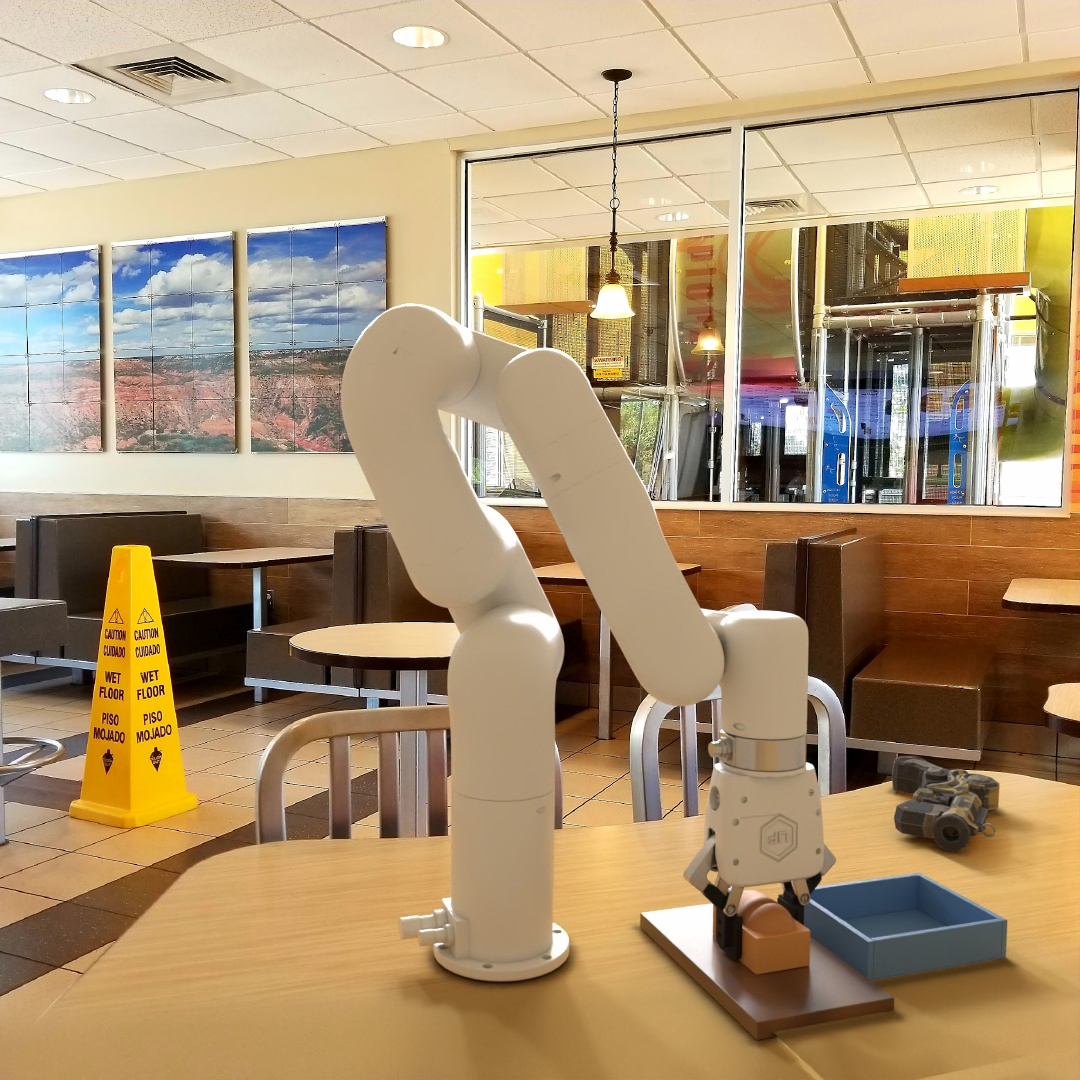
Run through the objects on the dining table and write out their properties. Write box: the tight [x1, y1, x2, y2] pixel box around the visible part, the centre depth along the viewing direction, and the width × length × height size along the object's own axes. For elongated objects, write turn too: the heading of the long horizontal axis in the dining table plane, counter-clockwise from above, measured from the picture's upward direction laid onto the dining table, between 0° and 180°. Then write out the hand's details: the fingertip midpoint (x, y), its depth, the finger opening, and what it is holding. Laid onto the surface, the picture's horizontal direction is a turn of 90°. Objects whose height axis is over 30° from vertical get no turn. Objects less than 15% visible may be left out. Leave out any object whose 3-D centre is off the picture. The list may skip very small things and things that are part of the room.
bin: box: [804, 872, 1008, 982], centre depth 102 cm, size 15×12×4 cm
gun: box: [891, 755, 1000, 852], centre depth 140 cm, size 5×26×15 cm
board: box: [639, 902, 895, 1041], centre depth 97 cm, size 13×22×2 cm, turn 19°
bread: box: [713, 889, 810, 975], centre depth 97 cm, size 5×8×5 cm
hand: (759, 946), depth 97 cm, fingers closed on bread, 5 cm apart
